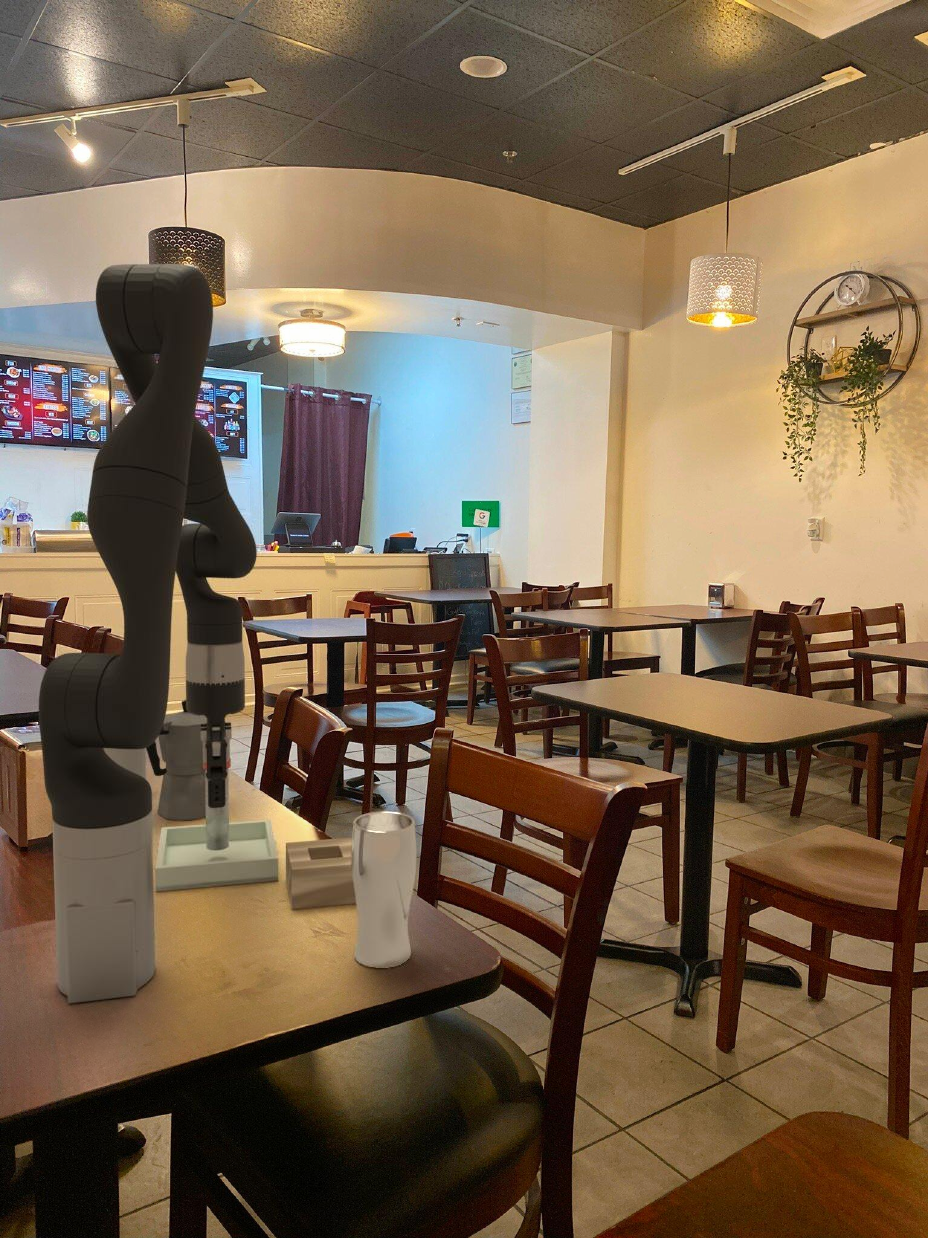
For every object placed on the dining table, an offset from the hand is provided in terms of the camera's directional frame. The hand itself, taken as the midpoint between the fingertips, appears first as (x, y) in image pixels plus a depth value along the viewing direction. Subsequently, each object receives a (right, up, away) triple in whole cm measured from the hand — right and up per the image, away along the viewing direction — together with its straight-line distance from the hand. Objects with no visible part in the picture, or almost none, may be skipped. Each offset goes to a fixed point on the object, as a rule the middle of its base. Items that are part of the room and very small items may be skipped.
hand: (216, 802), depth 119 cm
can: (-24, -5, +28) cm, 37 cm away
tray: (0, -9, +1) cm, 9 cm away
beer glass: (+24, -12, -23) cm, 36 cm away
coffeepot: (-11, -6, +21) cm, 24 cm away
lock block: (+16, -10, -7) cm, 20 cm away
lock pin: (0, -6, +1) cm, 6 cm away
